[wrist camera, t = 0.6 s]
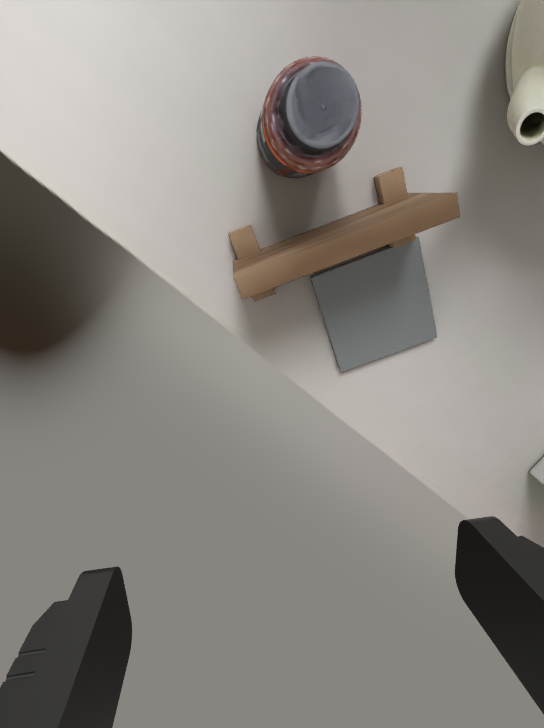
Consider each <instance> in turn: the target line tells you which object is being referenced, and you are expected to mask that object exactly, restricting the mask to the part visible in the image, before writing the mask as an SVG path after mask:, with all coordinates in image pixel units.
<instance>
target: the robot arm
mask: <svg viewBox="0 0 544 728" xmlns="http://www.w3.org/2000/svg"><path fill="white" fill-rule="evenodd" d="M455 578H456V583H457V587H458V589H459V592H460V594H461V596H462V598H463V600H464V602H465V603H466V605H467V606H468V607H469V609H470V610H471V612H472V613H473V615H474V616H475V617H476V619H477V620H478V622H479V623H480V625H481V626H482V627H483V629H484V630H485V632H486V633H487V635H488V636H489V637H490V639H491V640H492V642H493V643H494V644H495V646H496V647H497V649H498V650H499V651H500V653H501V654H502V656H503V657H504V658H505V660H506V662H507V663H508V664H509V666H510V667H511V669H512V670H513V671H514V673H515V674H516V675H517V677H518V678H519V680H520V681H521V683H522V684H523V686H524V687H525V688H526V690H527V691H528V693H529V694H530V696H531V697H532V698H533V700H534V701H535V703H536V704H537V706H538V707H539V708H540V710H541V711H542V713H543V714H544V548H543V547H541V546H539V545H537V544H536V543H534V542H532V541H530V540H529V539H527V538H525V537H523V536H519V537H517V536H516V535H515V534H514V533H513V532H512V531H511V530H510V529H509V528H507V527H506V526H505V525H504V524H503V523H502V522H501V521H500V520H499V519H497V518H496V517H483V518H476V519H469V520H463V521H461V522H460V524H459V526H458V537H457V550H456V564H455ZM131 641H132V622H131V616H130V611H129V606H128V601H127V596H126V591H125V585H124V580H123V575H122V572H121V569H120V568H119V567H112V568H105V569H97V570H90V571H84V572H83V573H81V574H80V576H79V578H78V580H77V582H76V584H75V586H74V589H73V591H72V593H71V595H70V598H69V600H65V601H59V602H54V603H53V604H52V605H51V606H50V608H49V609H48V610H47V611H46V612H45V613H44V614H43V615H42V616H41V617H40V618H39V620H38V621H37V622H36V623H35V624H34V625H33V626H32V628H31V630H30V632H29V634H28V636H27V637H26V639H25V641H24V643H23V645H22V647H21V649H20V651H19V656H18V658H16V659H15V660H14V662H13V664H12V666H11V668H10V670H9V672H8V674H7V678H6V681H5V682H3V684H2V685H1V687H0V728H112V726H113V722H114V717H115V714H116V709H117V705H118V701H119V697H120V693H121V688H122V684H123V680H124V676H125V672H126V667H127V663H128V659H129V655H130V649H131Z"/></svg>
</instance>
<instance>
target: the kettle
mask: <svg viewBox="0 0 544 728" xmlns="http://www.w3.org/2000/svg"><path fill="white" fill-rule="evenodd" d="M505 69H506V82H507V89H508V94H509V97H510V103H509V106H508V110H507V121H508V125H509V128H510V130H511V131H512V133H513V134H514V136H515V137H516V139H517V140H518V142H520V143H521V144H523V145H527V146H530V145H534V144H536V143H538V142H539V141H540V142H541V143H542V144H543V145H544V0H521V1H520V3H519V5H518V8H517V10H516V13H515V16H514V19H513V22H512V25H511V29H510V33H509V38H508V43H507V50H506V67H505Z"/></svg>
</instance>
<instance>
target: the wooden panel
mask: <svg viewBox="0 0 544 728" xmlns="http://www.w3.org/2000/svg"><path fill="white" fill-rule="evenodd" d="M374 181H375V185H376V190H377V195H378V199H379V204H378V205H375V206H373V207H370V208H367V209H365V210H362V211H360V212H357V213H354V214H352V215H349V216H347V217H344V218H341V219H339V220H336V221H334V222H331V223H328V224H326V225H323V226H321V227H318V228H315V229H313V230H310V231H308V232H305V233H303V234H300V235H297V236H295V237H292V238H290V239H287V240H284V241H282V242H279V243H277V244H274V245H271V246H269V247H266V248H264V249H261V250H260V249H259V246H258V243H257V241H256V238H255V235H254V232H253V229H252V227H251V225H249V226H247V227H244V228H241V229H239V230H236V231H234V232H231V233H229V237H230V240H231V242H232V245H233V248H234V250H235V253H236V255H237V258H238V259H235V260H233V274H234V280H235V283H236V285H237V288H238V290H239V293H240V295H241V298H242V299H245V298H248V297H250V296H252V297H253V299H254V301H257V300H260V299H262V298H265V297H268V296H270V295H273V294H276V293H275V291H274V287H277V286H279V285H282V284H285V283H287V282H290V281H292V280H295V279H298V278H300V277H303V276H306V275H308V274H311V273H314V272H316V271H319V270H321V269H324V268H327V267H329V266H332V265H335V264H337V263H340V262H342V261H345V260H348V259H350V258H353V257H356V256H358V255H361V254H364V253H366V252H369V251H371V250H374V249H377V248H379V247H382V246H385V245H387V244H389V247H391V248H397V247H400V246H402V245H405V244H408V243H410V242H413V241H415V240H416V237H415V234H416V233H419V232H422V231H424V230H427V229H429V228H432V227H435V226H437V225H440V224H443V223H445V222H448V221H450V220H453V219H456V218H458V217H460V211H459V204H458V197H457V193H407V190H406V184H405V179H404V174H403V169H402V167H401V168H396V169H393V170H390V171H388V172H385V173H383V174H380V175H378V176H375V177H374Z"/></svg>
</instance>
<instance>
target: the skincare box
mask: <svg viewBox="0 0 544 728" xmlns="http://www.w3.org/2000/svg"><path fill="white" fill-rule="evenodd" d="M530 474H532V475H533V476H534V477H535V478H536V479H537V480H538V481H540V482H541V483H542V484H543V485H544V456H543V457H542V458H541V459H540V460H539V461H538V463H537V464H536V465H535V466H534V467H533V468H532V469H531V470H530Z"/></svg>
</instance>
